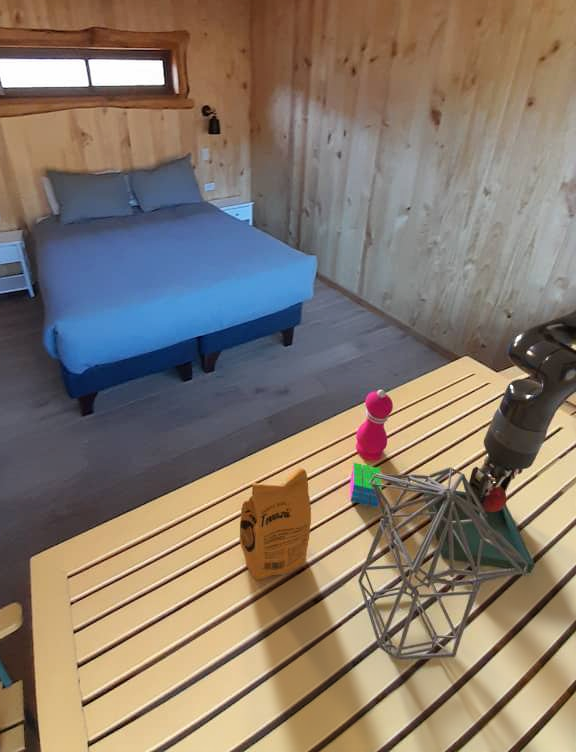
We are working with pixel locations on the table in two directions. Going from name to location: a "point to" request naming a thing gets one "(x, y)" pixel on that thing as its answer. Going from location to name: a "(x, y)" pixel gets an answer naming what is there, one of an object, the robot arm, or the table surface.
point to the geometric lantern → (422, 551)
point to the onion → (495, 499)
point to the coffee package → (276, 526)
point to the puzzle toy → (364, 484)
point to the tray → (489, 553)
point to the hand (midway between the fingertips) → (488, 494)
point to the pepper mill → (374, 426)
